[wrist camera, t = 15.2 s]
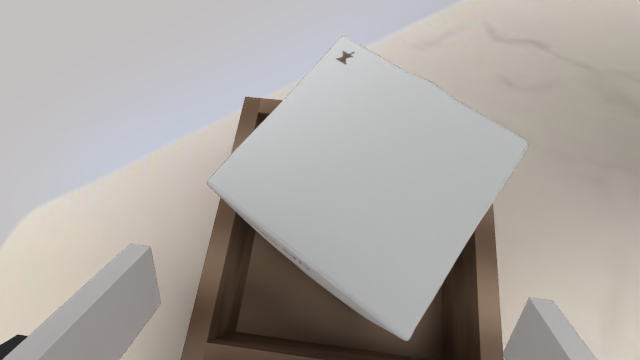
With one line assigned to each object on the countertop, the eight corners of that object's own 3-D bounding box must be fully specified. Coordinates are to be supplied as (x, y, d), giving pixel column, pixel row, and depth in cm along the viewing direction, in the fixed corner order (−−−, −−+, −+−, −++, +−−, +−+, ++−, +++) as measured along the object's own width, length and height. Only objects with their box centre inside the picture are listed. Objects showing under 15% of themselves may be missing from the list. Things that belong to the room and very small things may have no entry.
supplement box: (267, 244, 25) (193, 178, 11) (334, 162, 28) (341, 24, 14) (359, 319, 23) (409, 353, 9) (423, 224, 26) (539, 136, 12)
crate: (263, 140, 30) (245, 96, 23) (450, 160, 29) (487, 119, 22) (220, 345, 24) (179, 363, 17) (454, 379, 23) (507, 413, 16)
